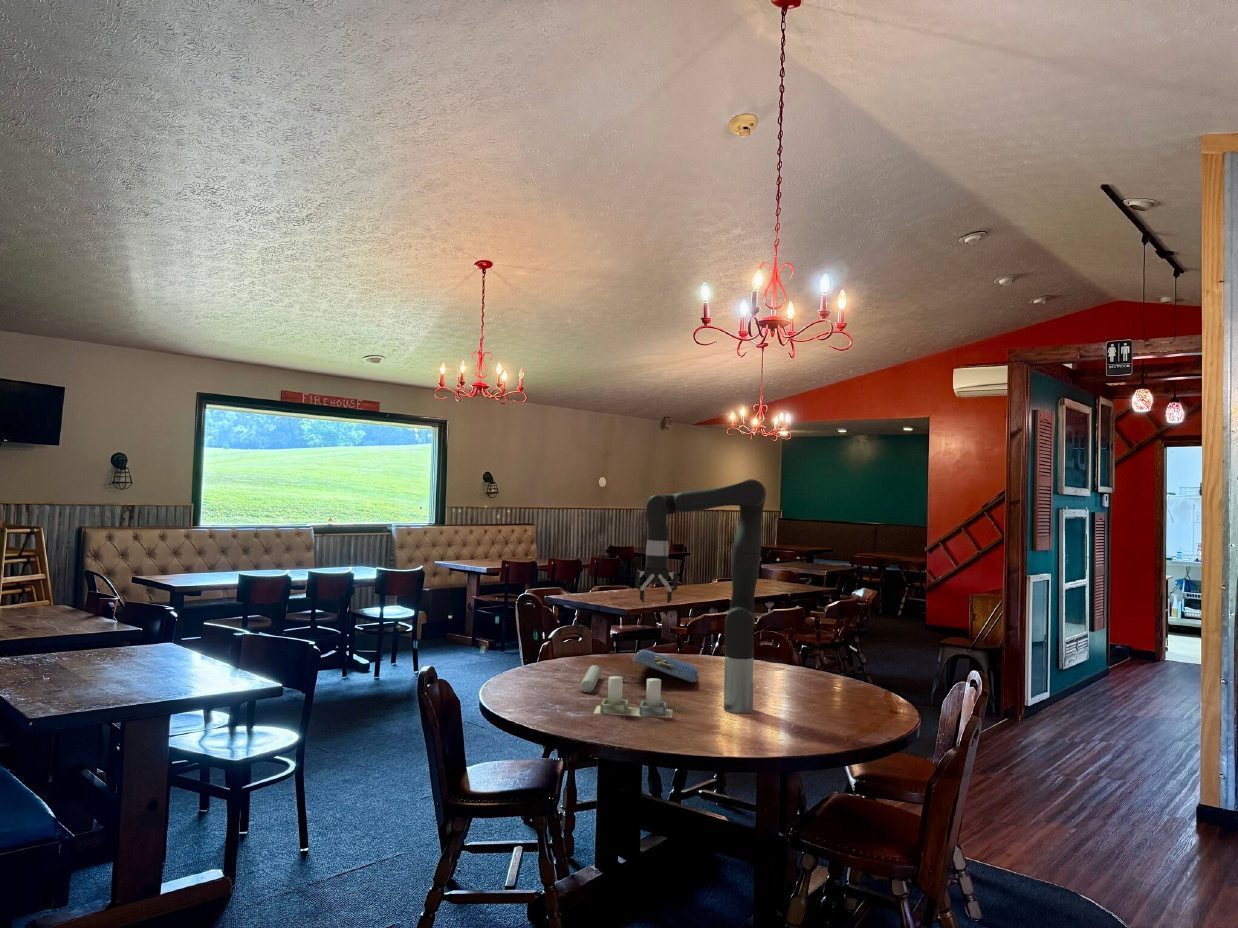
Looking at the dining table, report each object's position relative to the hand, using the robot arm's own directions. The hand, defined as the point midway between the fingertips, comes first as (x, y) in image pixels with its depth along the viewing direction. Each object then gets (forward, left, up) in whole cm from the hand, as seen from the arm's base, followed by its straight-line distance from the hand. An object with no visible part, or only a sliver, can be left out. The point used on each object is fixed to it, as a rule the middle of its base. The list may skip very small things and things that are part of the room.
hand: (655, 602), depth 272 cm
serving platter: (-2, -44, -34) cm, 56 cm away
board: (+5, +20, -33) cm, 39 cm away
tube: (+23, -20, -34) cm, 46 cm away
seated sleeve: (-1, +20, -32) cm, 37 cm away
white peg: (+11, +20, -32) cm, 39 cm away
